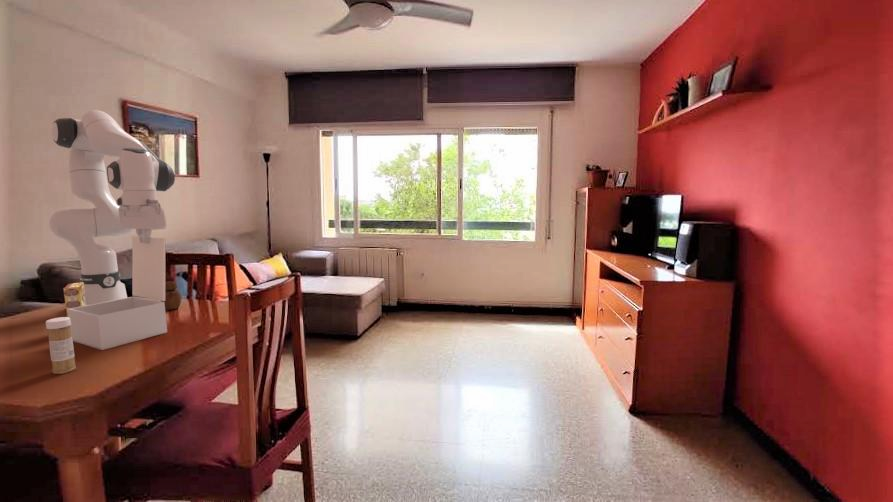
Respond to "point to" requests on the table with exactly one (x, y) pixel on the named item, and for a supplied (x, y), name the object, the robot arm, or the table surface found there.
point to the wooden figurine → (171, 294)
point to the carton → (117, 322)
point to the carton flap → (148, 268)
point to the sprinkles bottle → (61, 345)
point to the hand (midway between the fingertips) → (144, 243)
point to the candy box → (74, 296)
